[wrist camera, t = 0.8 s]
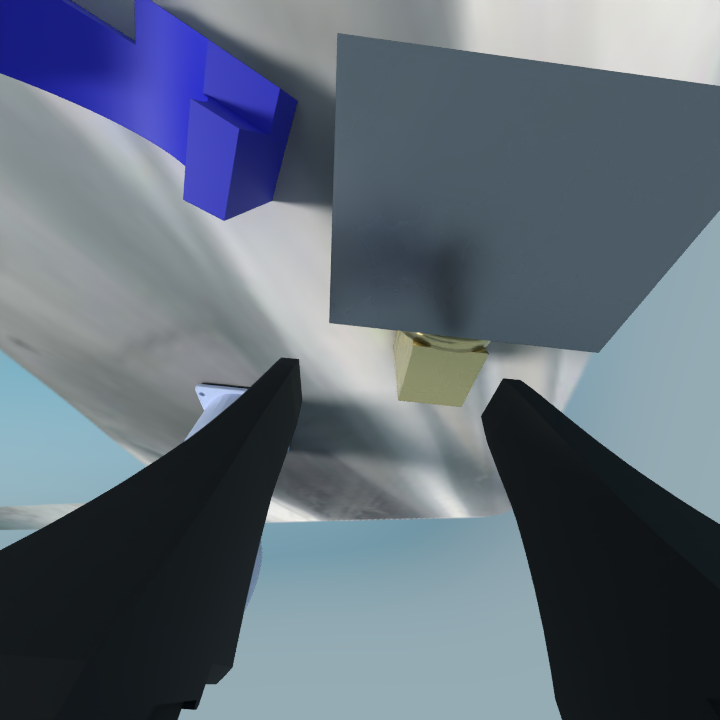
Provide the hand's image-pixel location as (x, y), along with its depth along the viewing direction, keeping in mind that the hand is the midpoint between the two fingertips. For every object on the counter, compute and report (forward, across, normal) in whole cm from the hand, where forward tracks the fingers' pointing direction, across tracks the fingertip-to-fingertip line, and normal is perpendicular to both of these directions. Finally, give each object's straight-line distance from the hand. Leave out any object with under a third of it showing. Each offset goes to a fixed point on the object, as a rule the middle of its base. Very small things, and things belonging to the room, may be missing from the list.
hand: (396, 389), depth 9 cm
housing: (+10, -3, -5) cm, 11 cm away
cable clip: (+10, +12, -9) cm, 18 cm away
